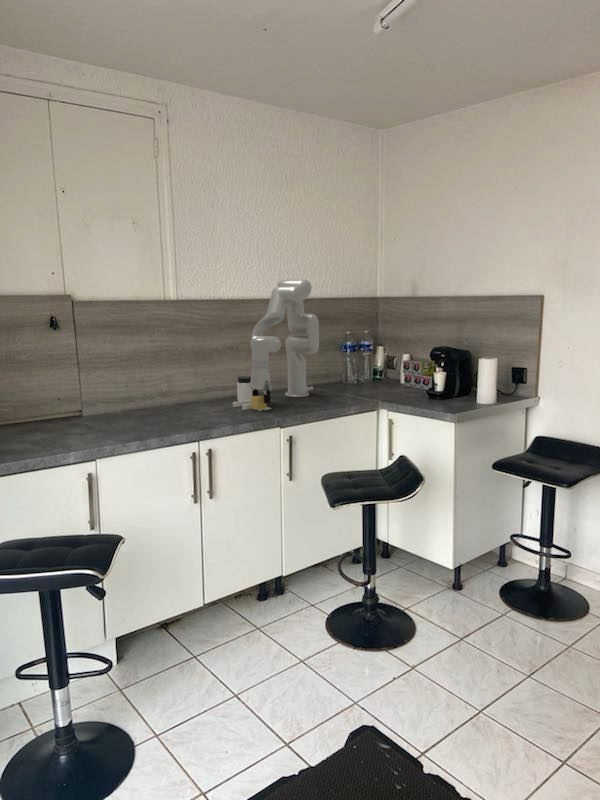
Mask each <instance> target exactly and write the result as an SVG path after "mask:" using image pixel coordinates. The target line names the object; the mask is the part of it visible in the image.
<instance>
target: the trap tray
mask: <svg viewBox="0 0 600 800" xmlns="http://www.w3.org/2000/svg"><path fill="white" fill-rule="evenodd" d="M275 405H277V401H273V400H270V403H266V407H269V406H275Z"/></svg>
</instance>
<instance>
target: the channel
mask: <svg viewBox="0 0 600 800" xmlns="http://www.w3.org/2000/svg"><path fill="white" fill-rule="evenodd" d="M232 407H233V408H236V407H237V408H238V407H241V409H242V411H245V410H253V409H252V408H251V400H245V401H238V400H237V401H233V402H232Z"/></svg>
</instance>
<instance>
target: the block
mask: <svg viewBox="0 0 600 800" xmlns="http://www.w3.org/2000/svg"><path fill="white" fill-rule="evenodd" d="M266 407H267V406H266V404H265V403H264V395H259V396H251V408H253V409H252V410H254V409H256V410H255V411H257V410H260V409H266Z"/></svg>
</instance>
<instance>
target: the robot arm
mask: <svg viewBox="0 0 600 800" xmlns="http://www.w3.org/2000/svg"><path fill="white" fill-rule="evenodd" d="M311 292H312V284H311V282H310V280H308V279H282V280H279V282H277V286H276V287H274V288H273V289H272V291H271V295H270V299H269V302H268V307H267V311H266V314H265V315H264V316H263V317H261V319H260V320H259V321H258V322H257V323H256V324H255V326H254V328H253V330H252V333H251V338H250V348H251V360H252V361H251V362H252V363H251V364H252V365H251V366H252V367H251V371H250V372H251V373H250V376H251V381H250V385H251V389H252V396H259V392H260V391H263V393H264V394H263V396H264V403H265V404H266V403H270V401H271V394H272V392H273V387H274V386H273V385H272V384H271V376H270V375H271V374H270V367H269V366H270V365H269V364H270V363H269V361H270V359H269V358H270V356H269V355H270V354H269V353H277V352H279V350H281V347H282V342H281V339H280V338H279V337H277V336H273V335H272V336H271V335H263V334H264V332H266V331H267V330H268V329H269V328H271V327H273V326H275V325H277V324H279V323H281V322H283V321H284V319H285V314H286V311H287V328H288V331H290V332H292V333H307V334H290V335H289V336H287V337H286V339H285V342H284V343H285V345H284V346H285V350H286V357H287V392H285V393H284V396H285V397H288V398H305V397H308V396H310V393H309V391H313V390H314V387H313V386H307V361H306V359H305V357H304V355H303V354H305V355H314V354H317V353H318V351H319V349H320V327H319V325H320V324H319V318H318V316H317V315H316V314H314V313H305V305H304V300H306V299H307V298H308V297H309V296H310V294H311Z"/></svg>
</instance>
